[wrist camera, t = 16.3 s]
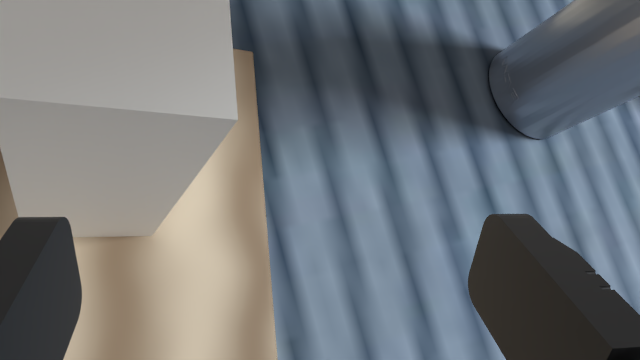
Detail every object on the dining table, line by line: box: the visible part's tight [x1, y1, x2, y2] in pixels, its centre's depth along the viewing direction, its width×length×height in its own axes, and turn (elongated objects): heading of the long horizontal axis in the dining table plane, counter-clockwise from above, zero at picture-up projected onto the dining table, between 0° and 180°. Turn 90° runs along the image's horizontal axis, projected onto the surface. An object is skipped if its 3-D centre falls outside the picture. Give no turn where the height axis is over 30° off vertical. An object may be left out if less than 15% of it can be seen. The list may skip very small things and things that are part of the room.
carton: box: [0, 0, 238, 237], centre depth 18 cm, size 6×6×14 cm
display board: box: [0, 49, 277, 360], centre depth 24 cm, size 15×30×4 cm, turn 7°
